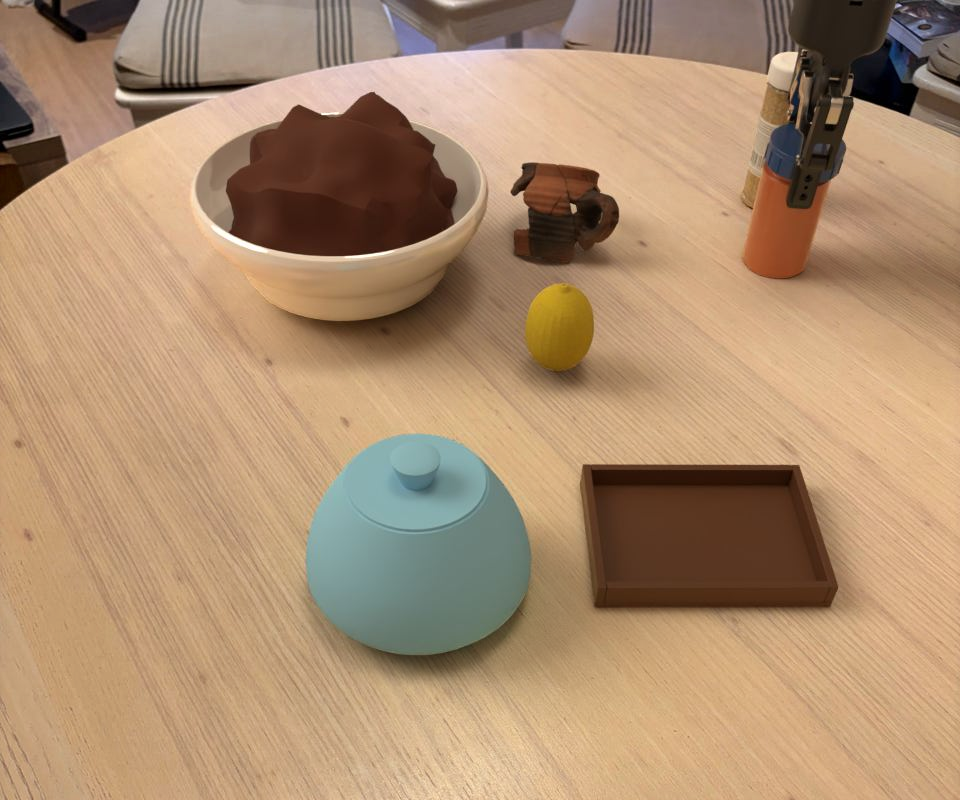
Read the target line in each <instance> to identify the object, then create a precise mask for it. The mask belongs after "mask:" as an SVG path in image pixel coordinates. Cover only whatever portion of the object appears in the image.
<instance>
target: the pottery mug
mask: <svg viewBox="0 0 960 800" xmlns="http://www.w3.org/2000/svg"><path fill="white" fill-rule="evenodd" d="M520 169H521V170H522V171H521V176H520V177H518V179H516V180H515V182H514V183H513V186H512V188H511V189H510V192H509V193H510V194H511V196H512V197H516V196H518V195H519V194H520V193H521V192H523V194H522V199H523V203H524V205H525V206H527V207H528V208H527V217H528V228H526V229H524V228H522V229H521V228H516V229H514V230H513V234H512V239H513V252H514V255H518V256H523V257H532V258H538V259H540V260H543V261H544V260H545V261H549V262H552V261H553V262H558V263H571V262H572V259H573V253H574V251H575V249H576V245H577V243H578V245H579V247H580V249H581V250H583V251H584V252H587V251H590V249H591V248H593V246H594V245H595V244H600V243H603V242H604V241H605V240H607V239H609V237H610V236H611V235H612V234H613V232H614V231H615V229H616V227H617V225H618V224H619V221H620V208H619V205H618V203H617V200H616V199H615V198H614V197H613V196H612V195H609V194H606V193H603V192H601V189H600V187H599V185H598V183H599V179H600V173H599V172H598V171H596V170H594V169H591V168H587V167H581V166H577V165H576V166H575V165H569V164H561V163H560V164H559V163H558V164H556V163H550V162H549V163H547V162H534V161H533V162H524V163H522V164H521V167H520ZM572 205H573V206H575V209H576V211H575V212H574V213H573V212H572V207H571V206H572Z"/></svg>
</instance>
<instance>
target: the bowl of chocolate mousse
mask: <svg viewBox="0 0 960 800" xmlns="http://www.w3.org/2000/svg"><path fill="white" fill-rule="evenodd" d="M488 203H489V183H488V179H487V176H486V172H485V170H484V168H483V166H482V164H481V163H480V161H479V159H478V158H477V157H476V156H475V154H474V153H473V152H472V151H471V150H470V149H468V148H467V147H466V146H465V145H464V143H462V142H460V141H459V140H457V139H456V138H454V137H453V136H451V135H449V134H447V133H446V132H443V131H441V130H440V129H437V128H435V127H433V126H429V125H427V124H424V123H421V122H417V121H415V120H411V119H408V117H407V116H406V115H405V114H404V113H403V112H402V111H401V110H400V109H399V108H398V107H397V106H394V105H393V104H391V103H390V102H388V101H387V100H386V99H384V98H383V97H382V96H381V95H379V94H376V91H369V92H367V93H365V94H363V95H361V96H359V98H358V99H357V100H356V101H355V102H353V104H351V105H350V106H349V107H348V109H346V110H345V111H338V112H335V111H334V112H321V113H319V112H317V111H315V110H313V109H310V108H308V107H306V106H303V105H301V104H299V103H298V104H296V105H294V106H292V108H291V109H290V110H289V112H288V113H287V114H286V116H285V117H284V118H281V119H277V120H274V121H269V122H266V123H263V124H260V125H257V126H253V127H252V128H249V129H247V130H245V131H242V132H240V133H238V134H236V135H234V136H233V137H231V138H229V139H227V140H226V141H224V142H222V143H221V144H220V145H219V146H217V147H216V148H215V149H213V150H212V151H211V152H210V153H209V154H207V156H206V157H205V158H204V159H203V160H202V162H201V163H200V165H199V166H198V167H197V169H196V170H195V172H194V174H193V176H192V180H191V184H190V190H189V204H190V208H191V212H192V217H193V219H194V222H195V224H196V226H197V228H198V230H199V231H200V232H201V234H202V235H203V236H204V238H205V239H206V240H207V242H208V243H209V244H210V245H211V247H212V248H213V249H214V250H215V251H216V252H217V253H218V254H219V255H220V256H221V257H222V258H223V259H224V260H225V261H227V262H228V263H229V264H230V265H232V266H233V267H234V268H235V269H237V270H238V271H240V272H241V273H242V274H243V275H244V276H245V278H246V279H247V281H248V282H249V283H250V284H251V286H252V288H254V290H256V291H257V293H258V295H260V296H261V297H262V298H263V299H265V300H266V301H267V302H268V303H270V304H272V305H274V306H275V307H277V308H279V309H281V310H284V311H286V312H289V313H290V314H294V315H297V316H300V317H305V318H310V319H315V320H322V321H334V322H350V321H351V322H352V321H363V320H370V319H376V318H380V317H386V316H388V315H389V316H390V315H393V314H395V313H398V312H401V311H403V310H405V309H407V308H410V307H412V306H413V305H416V304H418V303H419V302H420V301H422V300H423V299H425V298H426V297H428V296H429V295H430V294H431V293H432V292H433V291H434V290H435V288H437V286H438V285H439V284H440V282H441V280H442V279H443V277H444V275H445V274H446V272H447V270H448V268H449V267H450V263H451V262H452V261H453V260H454V259H455V258H456V257H457V256H458V255H459V254H460V253H461V252H462V251H463V250H464V249H465V248H466V246H467V245H468V244H469V243H470V242H471V240H472V239H473V237H474V236H475V235H476V233H477V231H478V229H479V227H480V225H481V224H482V221H483V220H484V217H485V215H486V213H487V210H488Z"/></svg>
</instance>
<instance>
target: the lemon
mask: <svg viewBox="0 0 960 800" xmlns="http://www.w3.org/2000/svg"><path fill="white" fill-rule="evenodd" d="M594 320H595V319H594V311H593V307H592V304H591V302H590V301H589V298H588V297H587V296H586V294H585V293H584V292H583V291H582V290H580V289H579V288H578V287H576V286H574V285H571V284H569V283H566V282H561V283H555V284H551V285H549V286H547V287H545V288H544V289H542V290H541V291H539V293H537V295H536V296H535V298H534V299H533V300H532V302H531V304H530V306H529V308H528V312H527V315H526V319H525V325H524V337H525V343H526V348H527V349H528V352H529V354H530V356H531V357H532V359H533V360H534V361H535V362H536V363H537V364H538V365H540V366H541V367H542V368H545V369H547V370H550V371H553V372H559V371H566V370H569V369H571V368H573V367H575V366H577V365H578V364H579V363H580V362H581V361H582V360H583V359H584V358H585V357H586V355H588V352H589V351H590V347H591V345H592V342H593V339H594V335H595V322H594Z"/></svg>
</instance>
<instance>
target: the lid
mask: <svg viewBox="0 0 960 800" xmlns="http://www.w3.org/2000/svg"><path fill="white" fill-rule="evenodd" d="M795 128H796V123H793V124H786V125H782V126H780V127H778V128H776V129H775V130H774V131H773V132H772V133H771V136H770V139H769V143H768V144H767V148H766V152H765V155H764V158H765V162H766V164H767V166H768V167H769V168H770V169H771V170H772V171H773V172H774V173H776V174H778V175H779V176H781V177H784V178H786V179H789V180H791V178H792V174H793V170H794V167H795V163H796V161H795V158H796V155H797V152H798V146H799V141H800V136H799V135H798V134H797V133H796V130H795ZM822 146H823V144H816V145H815V146H814V149H813V151H822ZM846 152H847V145H846V142H845V141H844V140H843V139H842V141H841V144H840V147H839V150H838V153H837V156H836V159H835V164H834V166H833V168H832V170H831V171H824V170H822V173H821V177H820V180H819V183H821V182H826V181H829V180H831V181H832V180H833V179H835V178H836V177H837V176H838V175H839V174H840V171H841V168H842V165H843V162H844V158H845V155H846Z"/></svg>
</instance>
